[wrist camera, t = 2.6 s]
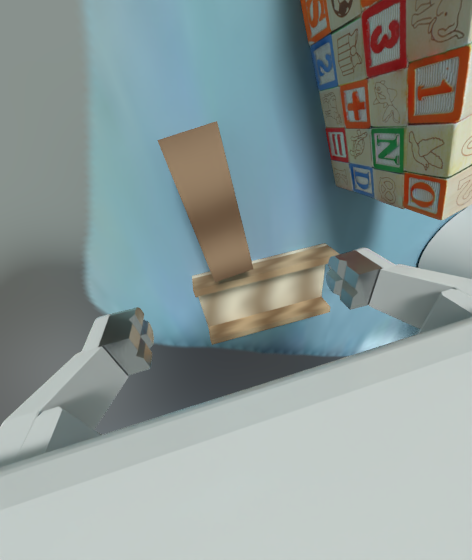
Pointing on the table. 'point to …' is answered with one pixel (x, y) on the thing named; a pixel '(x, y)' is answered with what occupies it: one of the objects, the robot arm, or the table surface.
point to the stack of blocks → (397, 98)
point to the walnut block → (209, 198)
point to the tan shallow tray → (265, 293)
